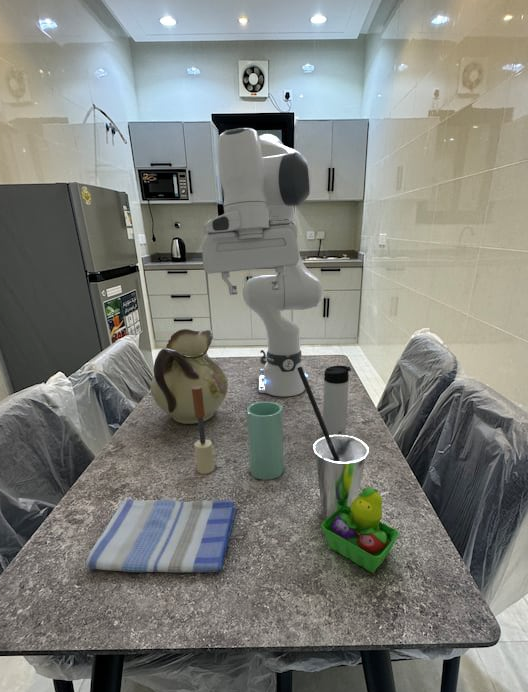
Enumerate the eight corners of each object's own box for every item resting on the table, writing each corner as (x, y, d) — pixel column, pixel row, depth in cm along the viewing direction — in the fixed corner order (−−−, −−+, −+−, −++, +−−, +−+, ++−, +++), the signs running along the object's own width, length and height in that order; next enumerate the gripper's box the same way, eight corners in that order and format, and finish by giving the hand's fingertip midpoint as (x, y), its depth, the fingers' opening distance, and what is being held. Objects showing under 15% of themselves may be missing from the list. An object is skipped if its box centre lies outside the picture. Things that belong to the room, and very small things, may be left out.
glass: (296, 505, 79) (296, 366, 67) (344, 492, 82) (352, 358, 70) (321, 541, 69) (325, 387, 57) (373, 524, 73) (388, 376, 61)
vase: (247, 463, 93) (244, 403, 87) (279, 459, 95) (277, 399, 88) (253, 481, 86) (249, 418, 80) (286, 476, 88) (286, 414, 81)
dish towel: (125, 505, 80) (123, 494, 78) (238, 507, 78) (237, 496, 77) (82, 573, 64) (78, 560, 63) (222, 578, 62) (220, 565, 61)
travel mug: (345, 443, 101) (350, 372, 93) (321, 441, 102) (323, 370, 94) (347, 432, 107) (351, 364, 99) (323, 430, 108) (325, 362, 100)
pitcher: (217, 396, 132) (211, 324, 122) (241, 424, 112) (236, 341, 102) (150, 409, 123) (137, 332, 113) (163, 441, 104) (149, 352, 94)
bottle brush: (197, 465, 93) (187, 385, 84) (213, 463, 94) (205, 383, 85) (197, 475, 89) (187, 391, 81) (215, 472, 90) (206, 389, 81)
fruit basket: (318, 547, 68) (319, 495, 63) (345, 521, 74) (349, 472, 69) (375, 583, 61) (381, 527, 56) (401, 551, 67) (408, 498, 62)
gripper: (291, 220, 83) (297, 286, 87) (196, 227, 78) (207, 296, 83) (300, 215, 77) (305, 287, 81) (198, 223, 73) (209, 298, 77)
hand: (255, 292), depth 82 cm, fingers open, 8 cm apart
